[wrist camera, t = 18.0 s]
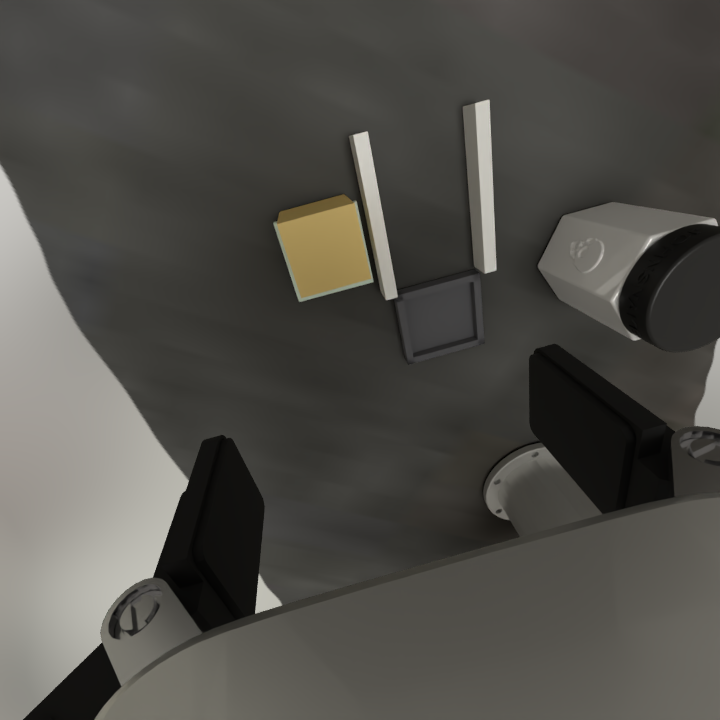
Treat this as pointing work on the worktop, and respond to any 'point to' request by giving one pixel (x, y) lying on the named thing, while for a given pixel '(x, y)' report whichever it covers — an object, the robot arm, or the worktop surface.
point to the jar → (640, 272)
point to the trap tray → (440, 316)
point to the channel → (478, 187)
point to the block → (324, 245)
